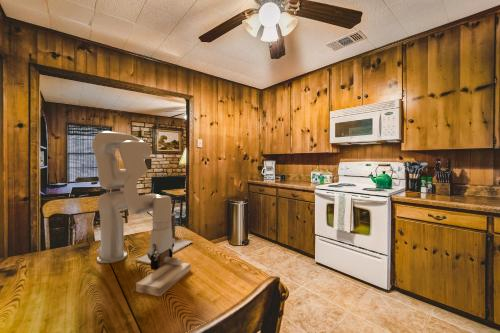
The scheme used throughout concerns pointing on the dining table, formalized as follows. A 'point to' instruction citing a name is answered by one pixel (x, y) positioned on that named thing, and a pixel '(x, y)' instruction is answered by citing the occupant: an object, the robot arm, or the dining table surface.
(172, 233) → the pillar candle
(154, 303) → the dining table surface
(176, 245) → the baseboard
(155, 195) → the robot arm
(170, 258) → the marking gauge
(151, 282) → the birch plank
